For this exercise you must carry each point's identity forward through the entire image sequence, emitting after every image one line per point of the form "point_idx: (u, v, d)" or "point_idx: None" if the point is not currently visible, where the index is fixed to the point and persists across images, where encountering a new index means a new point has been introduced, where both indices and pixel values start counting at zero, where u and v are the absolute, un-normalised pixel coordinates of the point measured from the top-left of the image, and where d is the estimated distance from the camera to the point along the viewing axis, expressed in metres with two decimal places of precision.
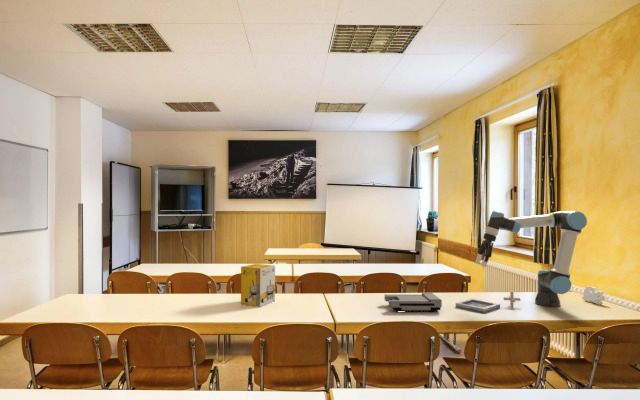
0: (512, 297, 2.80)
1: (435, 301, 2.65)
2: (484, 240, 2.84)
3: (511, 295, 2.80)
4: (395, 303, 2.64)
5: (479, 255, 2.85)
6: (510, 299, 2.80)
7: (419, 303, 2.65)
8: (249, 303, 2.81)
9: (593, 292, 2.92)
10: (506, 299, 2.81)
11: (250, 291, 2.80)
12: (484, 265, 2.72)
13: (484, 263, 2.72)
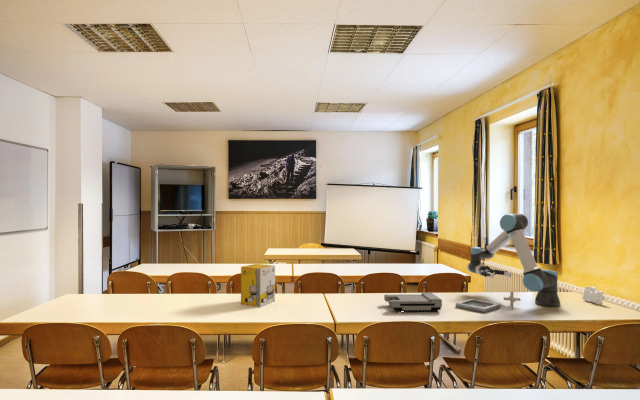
0: (512, 297, 2.80)
1: (435, 301, 2.65)
2: None
3: (511, 295, 2.80)
4: (396, 303, 2.64)
5: (505, 274, 2.98)
6: (510, 299, 2.80)
7: (420, 303, 2.65)
8: (249, 303, 2.81)
9: (593, 292, 2.92)
10: (506, 299, 2.81)
11: (250, 291, 2.80)
12: (492, 275, 2.90)
13: (491, 275, 2.91)
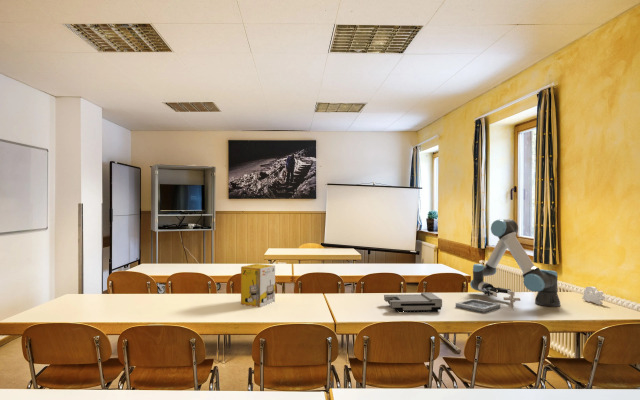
0: (512, 297, 2.80)
1: (436, 301, 2.66)
2: None
3: (511, 295, 2.80)
4: (396, 303, 2.64)
5: (508, 292, 2.94)
6: (510, 299, 2.80)
7: (420, 303, 2.65)
8: (249, 303, 2.81)
9: (593, 292, 2.92)
10: (506, 299, 2.81)
11: (250, 291, 2.80)
12: (495, 294, 2.86)
13: (494, 294, 2.87)
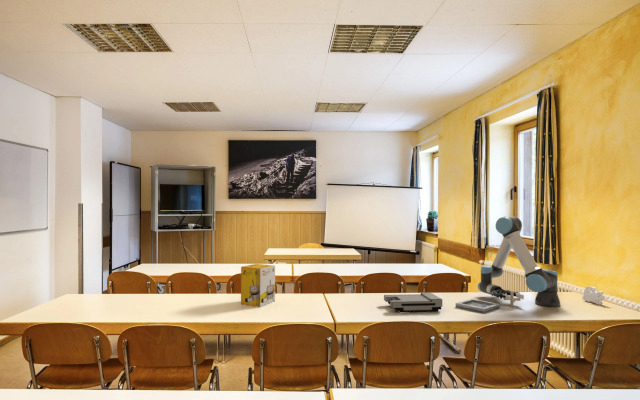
0: (512, 297, 2.80)
1: (436, 301, 2.66)
2: None
3: (511, 295, 2.80)
4: (397, 303, 2.64)
5: (516, 295, 2.83)
6: (510, 299, 2.80)
7: (421, 303, 2.65)
8: (249, 303, 2.81)
9: (593, 292, 2.92)
10: (506, 299, 2.81)
11: (250, 291, 2.80)
12: (508, 297, 2.76)
13: (506, 297, 2.77)
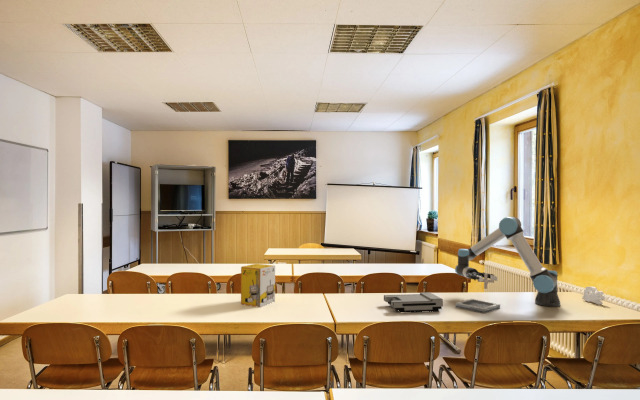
0: (486, 279, 2.80)
1: (437, 300, 2.67)
2: None
3: (485, 277, 2.81)
4: (398, 303, 2.63)
5: (491, 277, 2.83)
6: (484, 281, 2.81)
7: (421, 303, 2.65)
8: (249, 303, 2.81)
9: (593, 292, 2.92)
10: (480, 281, 2.81)
11: (250, 291, 2.80)
12: (481, 278, 2.77)
13: (480, 278, 2.78)
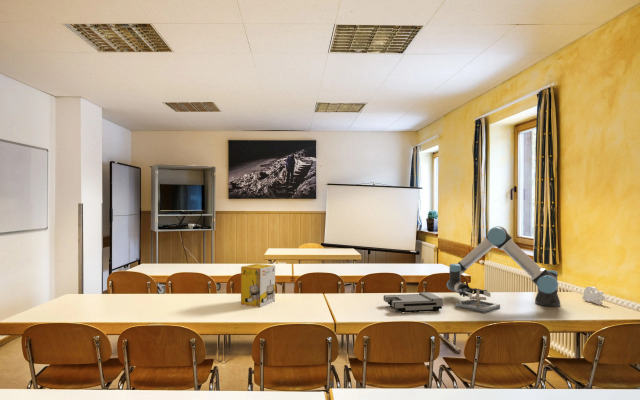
0: (478, 296, 2.77)
1: (437, 300, 2.67)
2: (474, 290, 2.92)
3: (477, 294, 2.77)
4: (399, 303, 2.63)
5: (484, 293, 2.82)
6: (476, 298, 2.77)
7: (422, 303, 2.66)
8: (249, 303, 2.81)
9: (593, 292, 2.92)
10: (472, 298, 2.78)
11: (250, 291, 2.80)
12: (470, 295, 2.74)
13: (469, 295, 2.75)
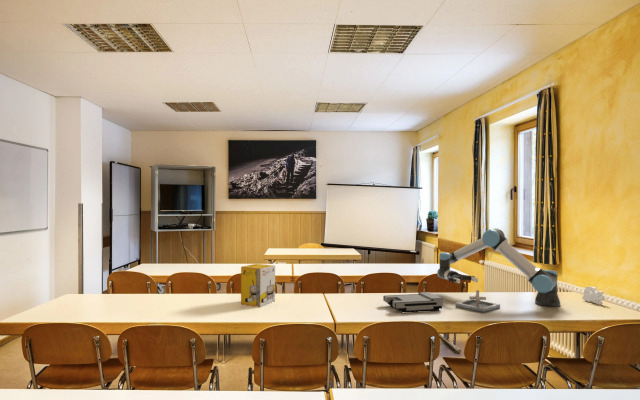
0: (478, 296, 2.77)
1: (437, 300, 2.68)
2: None
3: (477, 294, 2.77)
4: (400, 303, 2.63)
5: (472, 279, 2.95)
6: (476, 298, 2.77)
7: (423, 303, 2.66)
8: (249, 303, 2.81)
9: (593, 292, 2.92)
10: (472, 298, 2.78)
11: (250, 291, 2.80)
12: (458, 280, 2.87)
13: (457, 281, 2.88)
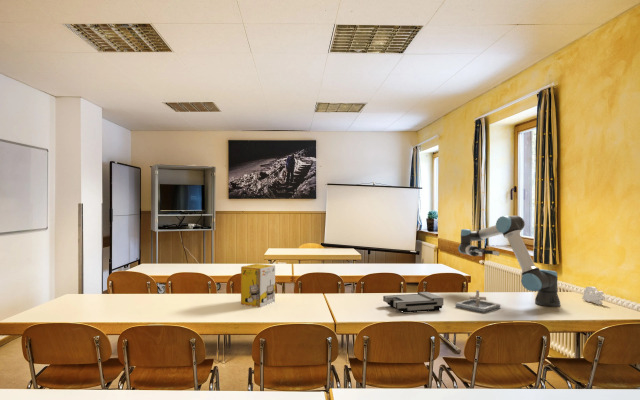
0: (478, 296, 2.77)
1: (438, 300, 2.69)
2: None
3: (477, 294, 2.77)
4: (402, 304, 2.62)
5: (493, 253, 3.10)
6: (476, 298, 2.77)
7: (423, 302, 2.66)
8: (249, 303, 2.81)
9: (593, 292, 2.92)
10: (472, 298, 2.78)
11: (251, 291, 2.80)
12: (480, 253, 3.02)
13: (479, 254, 3.03)
